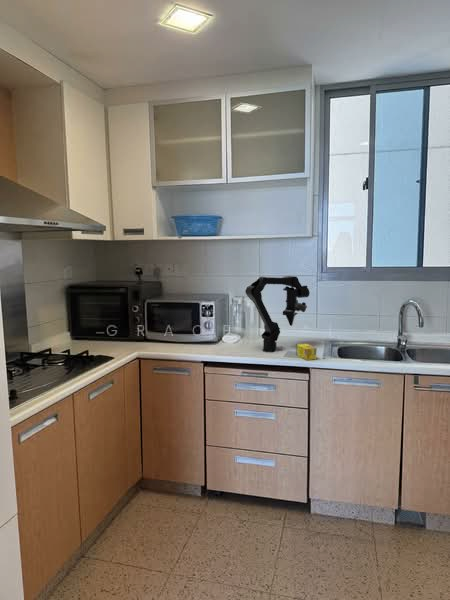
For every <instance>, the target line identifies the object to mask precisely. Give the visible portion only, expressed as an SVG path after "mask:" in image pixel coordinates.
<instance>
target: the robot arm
mask: <svg viewBox="0 0 450 600" xmlns="http://www.w3.org/2000/svg"><path fill="white" fill-rule="evenodd" d="M266 285H283V286H285V287H284V288H283V289H282V290H283V291H284V292H285V291H286V299H285V303H286V306H285V309H284V310H283V311H282V316H285V317H286V319H287V321H288V323H289V326H291V327H293V323H294V319H295V317H296V316H297V315H298V312H302V313H305V312H306V310H307V309H308V306H307V303H306V302H304V301H303V302H302V303H301V302H299V300H298V299H300V298H301V299H302V298H308V297H309V296H310V289H309V288H308V285H302V284H301V281H299V278H298V277H297V276H295V275H293V276H292V275H288V276H282V277H269V276H268V277H267V276H259V277H258V279H256V280H255V281H253V282H252V283H251V284H250V285H248V286H247V287H246V289H245V290H244V291H245V292H244V293H245V295H246V296H247V298H248V299H250V301H252V303H253V304H254V306H255V308H256V310H257V312H258V315H259V316H260V318H261V320H262V322H263V325H264V332H263V333H262V334H261V339H263V344H262V345H263V349H262V352H269V353H275V352H276V351H277V347H278V345H277V343H278V342H277V341H278V339H279V336H280V334H281V328H280V327H279V324H278V322H275V321H273V320H272V318H271V316H270V314H269V312H268V310H267V308H266V306H265V304H264V302H263V299H262V295H263V294H262V291H263V290H264V288H265V286H266ZM297 298H298V299H297Z"/></svg>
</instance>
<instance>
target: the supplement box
mask: <svg viewBox="0 0 450 600" xmlns="http://www.w3.org/2000/svg"><path fill="white" fill-rule="evenodd" d="M317 351H318V350H317V347H315V346H312V345H310V344H308V343H297V344H296V355H298V356H300V357H302V358H301V359H303V360H306V361H309V360H311V361H312V360H317Z"/></svg>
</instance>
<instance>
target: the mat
mask: <svg viewBox="0 0 450 600" xmlns="http://www.w3.org/2000/svg"><path fill="white" fill-rule="evenodd" d="M283 356H284V358H285V357H286V358H297V359H303V358H302V357H300V356H298V355H296V351H295V350H294V351H293V350H288V351H286V352H285V354H284V355H283Z"/></svg>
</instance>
